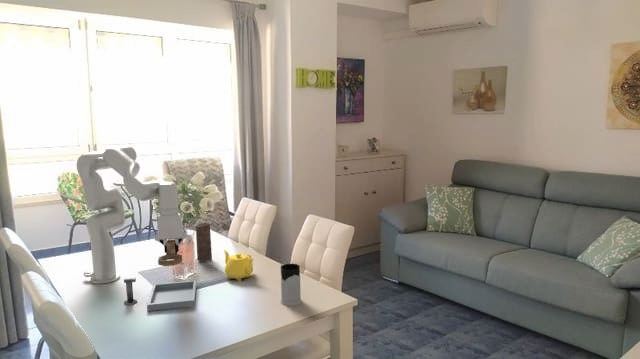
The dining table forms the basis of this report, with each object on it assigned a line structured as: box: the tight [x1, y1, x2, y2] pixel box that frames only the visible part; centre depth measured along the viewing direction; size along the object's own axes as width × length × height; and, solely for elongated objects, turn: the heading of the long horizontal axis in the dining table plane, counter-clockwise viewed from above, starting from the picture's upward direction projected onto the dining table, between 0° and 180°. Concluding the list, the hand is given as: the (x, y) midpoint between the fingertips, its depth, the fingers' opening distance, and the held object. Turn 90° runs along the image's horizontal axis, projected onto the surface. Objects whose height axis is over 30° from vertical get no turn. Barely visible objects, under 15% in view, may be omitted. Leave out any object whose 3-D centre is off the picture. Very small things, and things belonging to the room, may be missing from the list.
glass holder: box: [280, 263, 303, 307], centre depth 198 cm, size 9×14×15 cm, turn 28°
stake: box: [123, 277, 138, 306], centre depth 196 cm, size 5×5×10 cm
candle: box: [195, 222, 213, 262], centre depth 246 cm, size 8×7×20 cm
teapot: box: [223, 249, 255, 282], centre depth 224 cm, size 20×15×12 cm
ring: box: [157, 239, 183, 267], centre depth 197 cm, size 9×15×7 cm, turn 12°
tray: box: [146, 279, 197, 313], centre depth 201 cm, size 18×22×3 cm
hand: (171, 253), depth 203 cm, fingers closed on ring, 2 cm apart
